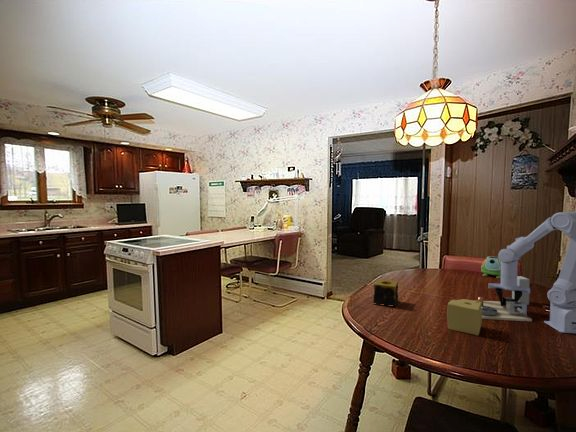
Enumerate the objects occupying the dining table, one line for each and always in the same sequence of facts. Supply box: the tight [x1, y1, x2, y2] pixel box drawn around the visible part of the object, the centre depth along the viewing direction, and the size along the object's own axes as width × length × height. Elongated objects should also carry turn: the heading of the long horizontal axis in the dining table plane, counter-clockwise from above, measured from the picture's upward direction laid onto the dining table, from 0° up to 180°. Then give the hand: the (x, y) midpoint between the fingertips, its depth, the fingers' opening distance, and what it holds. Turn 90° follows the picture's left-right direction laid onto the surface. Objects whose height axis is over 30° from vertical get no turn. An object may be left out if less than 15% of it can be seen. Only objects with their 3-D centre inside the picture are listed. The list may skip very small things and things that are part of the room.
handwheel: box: [477, 296, 497, 316], centre depth 123 cm, size 9×9×5 cm
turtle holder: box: [480, 255, 501, 279], centre depth 181 cm, size 12×18×12 cm
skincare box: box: [511, 275, 530, 306], centre depth 136 cm, size 6×4×12 cm
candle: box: [372, 279, 399, 307], centre depth 139 cm, size 10×10×10 cm
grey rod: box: [502, 296, 524, 313], centre depth 122 cm, size 12×3×4 cm, turn 169°
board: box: [473, 300, 533, 322], centre depth 127 cm, size 20×20×1 cm
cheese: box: [446, 298, 483, 336], centre depth 111 cm, size 10×11×10 cm
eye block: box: [506, 301, 528, 316], centre depth 120 cm, size 3×6×5 cm, turn 79°
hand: (508, 306), depth 126 cm, fingers closed on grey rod, 4 cm apart
